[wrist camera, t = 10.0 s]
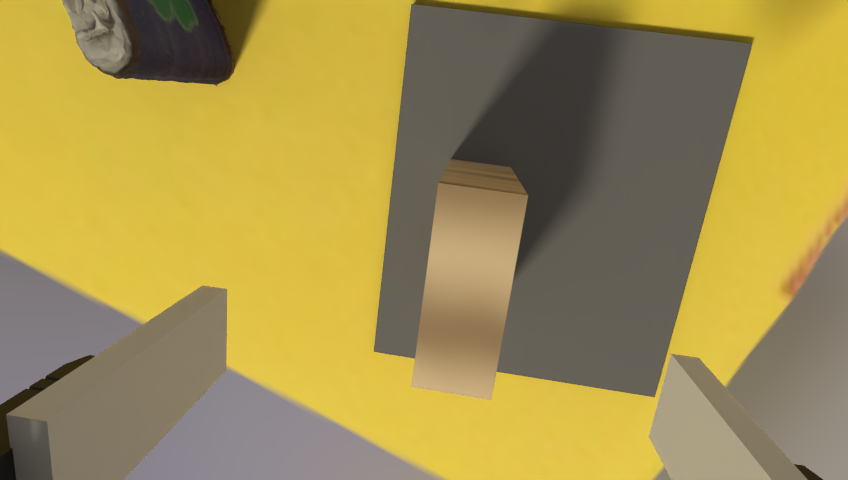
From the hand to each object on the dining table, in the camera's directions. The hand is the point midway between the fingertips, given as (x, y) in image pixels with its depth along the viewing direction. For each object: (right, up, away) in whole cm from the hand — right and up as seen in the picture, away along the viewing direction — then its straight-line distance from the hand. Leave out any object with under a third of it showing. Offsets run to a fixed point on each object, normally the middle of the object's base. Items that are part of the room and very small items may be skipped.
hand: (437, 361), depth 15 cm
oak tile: (+2, +4, +15) cm, 16 cm away
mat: (+7, +5, +15) cm, 17 cm away
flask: (-14, +17, +14) cm, 26 cm away
